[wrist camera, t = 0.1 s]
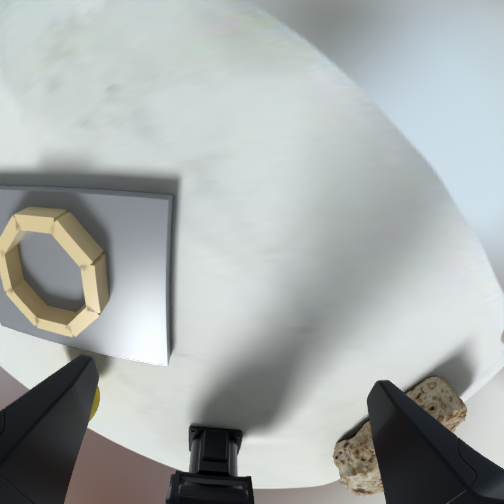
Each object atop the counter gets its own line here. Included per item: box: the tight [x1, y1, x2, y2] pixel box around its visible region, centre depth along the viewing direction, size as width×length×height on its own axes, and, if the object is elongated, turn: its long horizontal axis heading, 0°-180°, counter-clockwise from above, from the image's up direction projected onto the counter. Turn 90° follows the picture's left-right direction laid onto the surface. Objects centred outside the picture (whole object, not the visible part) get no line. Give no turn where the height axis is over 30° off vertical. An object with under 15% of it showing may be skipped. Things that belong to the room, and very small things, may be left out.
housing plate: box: [0, 185, 173, 366], centre depth 21 cm, size 15×20×4 cm
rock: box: [333, 376, 467, 496], centre depth 31 cm, size 21×14×10 cm
